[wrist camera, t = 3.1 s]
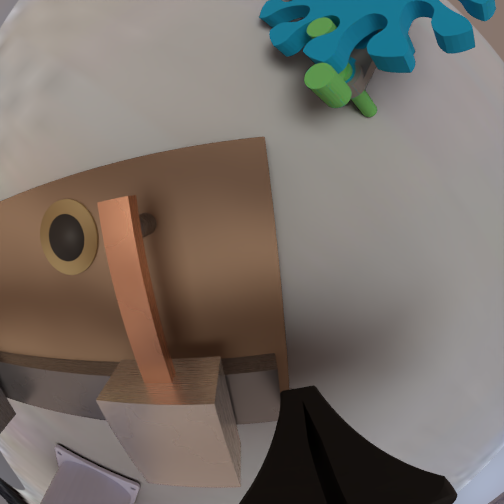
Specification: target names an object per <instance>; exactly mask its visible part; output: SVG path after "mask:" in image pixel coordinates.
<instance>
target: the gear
mask: <svg viewBox="0 0 504 504" xmlns="http://www.w3.org/2000/svg"><path fill="white" fill-rule="evenodd" d="M459 1H460V2H461V3H462V5H463V6H464V8H465V9H466V11H467V12H468V13H469V14H470V15H471V16H473V17H475V18H476V19H479V20H481V21H487V20H489V19H490V18H491V17H492V16H493V14H494V12H495V10H496V7H495V0H459ZM302 17H305V18H304V19H302V20H300V21H297V22H289V21H291V20H294V19H297V18H302ZM419 17H429V18H432V21H431V24H432V27H433V30H434V33H435V37H436V40H437V43H438V45H439V47H440V48H441V49H442V50H443V51H444V52H446V53H459V52H463V51H466V50H469V49H472V48H474V47H475V41H474V34H473V29H472V25H471V23H470V22H469V21H468V20H467V19H466V18H465V17H463V16H462V15H460V14H458V13H456V12H454V11H452V10H451V9H449V8H447V7H446V6H445V5H443V4H442V3H441V2H440V1H439V0H292V1H289V2H283V1H282V0H269V1H267V2H266V3H265V5H264V6H263V8H262V10H261V13H260V17H259V18H261V19H262V20H263V21H265V22H266V23H267V24H268V25H269V26H271V27H273V28H272V29H271V30H270V34H269V35H270V39H271V42H272V44H273V45H274V46H275V47H276V48H277V49H278V50H279V51H281V52H282V53H283V54H284V55H285V56H287V57H288V56H292V55H294V54H296V53H298V52H299V51H300V50H301V49H302V48H303V47H304V46H305V45H306V46H305V47H304V49H303V52H304V53H305V54H306V55H307V56H308V57H309V58H310V59H311V60H312V61H313V62H314V63H315V65H313V66H312V67H310V68H309V69H308V71H307V72H306V74H305V77H304V82H305V84H306V85H307V87H309V88H310V89H311V90H312V91H313V92H314V93H315V94H316V95H317V96H318V97H319V98H320V99H321V100H323V101H324V102H325V103H326V104H327V105H328V106H329V107H332V108H340V107H342V106H344V105H346V104H347V103H348V102H349V100H350V99H351V100H352V101H353V102H354V104H355V105H356V106H357V107H358V109H359V110H360V111H361V112H362V114H363V115H364V116H366V117H372V116H374V115H375V114H376V112H377V107H376V106H375V104H374V103H373V101H372V100H371V98H370V97H369V95H368V94H367V92H366V91H365V88H366V87H367V85H368V82H369V80H370V78H371V76H372V74H373V72H374V70H375V68H376V67H377V68H378V69H379V70H382V71H386V72H396V73H411V72H412V71H413V69H414V67H415V59H414V56H413V54H414V53H415V49H414V47H413V44H412V42H411V40H410V37H409V35H408V31H409V28H410V26H411V23H412V21H413V20H414V19H416V18H419Z"/></svg>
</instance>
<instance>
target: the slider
mask: <svg viewBox="0 0 504 504" xmlns="http://www.w3.org/2000/svg"><path fill="white" fill-rule="evenodd" d="M97 204H98V211H99V218H100V224H101V230H102V235H103V241H104V246H105V251H106V256H107V260H108V265H109V269H110V274H111V278H112V282H113V286H114V290H115V294H116V298H117V301H118V305H119V309H120V312H121V316H122V319H123V322H124V326H125V329H126V332H127V335H128V338H129V341H130V344H131V347H132V350H133V353H134V356H135V359H136V360H121V361H120V363H119V364H118V366H117V367H116V369H115V370H114V372H113V374H112V375H111V377H110V378H109V380H108V381H107V383H106V385H105V386H104V388H103V389H102V391H101V392H100V394H99V396H98V397H97V399H96V402H97V404H98V405H99V407H100V409H101V411H102V413H103V415H104V416H105V418H106V420H107V422H108V423H109V425H110V427H111V429H112V430H113V432H114V434H115V435H116V437H117V438H118V440H119V442H120V443H121V445H122V446H123V448H124V449H125V451H126V452H127V454H128V455H129V457H130V458H131V460H132V461H133V463H134V464H135V466H136V467H137V468H138V470H139V471H140V473H141V474H142V475H143V477H144V478H145V479H146V481H147V482H148V483H154V484H163V485H174V486H188V487H241V442H240V438H239V434H238V430H237V426H236V422H235V418H234V414H233V409H232V405H231V401H230V397H229V392H228V388H227V384H226V379H225V375H224V370H223V365H222V361H221V356H215V357H201V358H182V359H171V356H170V352H169V349H168V346H167V342H166V338H165V335H164V331H163V327H162V324H161V320H160V316H159V312H158V308H157V304H156V300H155V295H154V291H153V287H152V282H151V278H150V273H149V268H148V263H147V258H146V253H145V248H144V242H143V238H144V237H146V236H148V235H150V234H152V233H153V232H154V231H155V229H156V225H157V223H156V219H155V217H154V216H153V215H152V214H150V213H141V214H139V212H138V205H137V198H136V195H132V196H125V197H120V198H115V199H111V200H106V201H102V202H98V203H97Z"/></svg>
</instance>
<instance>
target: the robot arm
mask: <svg viewBox="0 0 504 504" xmlns="http://www.w3.org/2000/svg"><path fill="white" fill-rule="evenodd" d="M55 453H56V458H57V462H58V467H59V469H58V471H57V472H56V474H55V476H54V478H53V480H52V482H51V484H50V486H49V488H48V490H47V491H46V493H45V495H44V497H43V499H42V501H41V503H40V504H134V502H135V499H136V497H137V494H138V491H139V488H140V485H139V484H138V483H137V482H134V481H132V480H129V479H127V478H124V477H122V476H120V475H117V474H115V473H113V472H110V471H108V470H106V469H104V468H102V467H99V466H97V465H95V464H93V463H91V462H89V461H87V460H85V459H83V458H81V457H80V456H78V455H76V454H74V453H72V452H70V451H69V450H67V449H65V448H63V447H62V446H60V445H56V446H55ZM456 498H457V493H456V491H455V490H454V488H453V486H452V485H451V484H450V482H449V481H448V480H447V479H446V478H445V476H441V475H437V474H434V473H430V472H427V471H424V470H421V469H419V468H416V467H414V466H411V465H409V464H407V463H405V462H403V461H401V460H399V459H397V458H395V457H393V456H391V455H389V454H387V453H386V452H384V451H382V450H381V449H379V448H378V447H376V446H375V445H373V444H372V443H370V442H369V441H368V440H366V439H365V438H364V437H362V436H361V435H360V434H359V433H357V432H356V431H355V430H354V429H353V428H352V427H351V426H350V425H348V424H347V423H346V422H345V421H344V420H343V419H342V418H341V417H340V416H339V415H338V414H337V412H336V411H335V410H334V409H333V408H332V407H331V406H330V405H329V403H328V402H327V401H326V400H325V399H324V397H323V396H322V395H321V393H320V392H319V391H318V389H317V388H316V387H315V386H309V387H303V388H297V389H290V390H283V391H282V392H281V393H280V411H279V417H278V422H277V426H276V430H275V434H274V437H273V440H272V443H271V446H270V448H269V451H268V454H267V456H266V458H265V460H264V463H263V465H262V467H261V469H260V471H259V473H258V475H257V476H256V478H255V480H254V482H253V483H252V485H251V487H250V488H249V490H248V491H247V493H246V494H245V496H244V497H243V499H242V500H241V501H240V503H239V504H453V503H454V501H455V500H456ZM488 504H504V492H503V493H502V494H500V495H499V496H498V497H497V498H495V499H494V500H493V501H491V502H490V503H488Z"/></svg>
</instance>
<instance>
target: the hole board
mask: <svg viewBox="0 0 504 504" xmlns="http://www.w3.org/2000/svg"><path fill="white" fill-rule="evenodd" d="M132 195H136V198H137V205H138V212H139V214H141V213H150V214H152V215H153V216H154V217H155V219H156V223H157V225H156V229H155V231H154V232H153V233H152V234H150V235H148V236H146V237H144V238H143V242H144V248H145V253H146V258H147V263H148V268H149V273H150V278H151V282H152V287H153V291H154V295H155V300H156V304H157V308H158V312H159V316H160V320H161V324H162V327H163V331H164V335H165V338H166V342H167V346H168V349H169V352H170V356H171V359H182V358H201V357H215V356H221V359H222V358H234V357H244V356H253V355H262V354H270V353H275V356H276V362H277V368H278V377H279V387H280V393H281V392H282V391H283V390H290V389H289V375H288V361H287V348H286V336H285V324H284V312H283V301H282V290H281V279H280V269H279V258H278V249H277V239H276V229H275V220H274V211H273V202H272V193H271V185H270V176H269V168H268V160H267V152H266V144H265V137H256V138H247V139H239V140H231V141H223V142H216V143H210V144H203V145H197V146H191V147H185V148H180V149H175V150H169V151H164V152H159V153H155V154H150V155H145V156H141V157H137V158H132V159H128V160H124V161H120V162H116V163H112V164H109V165H105V166H101V167H98V168H94V169H91V170H87V171H84V172H80V173H77V174H74V175H71V176H68V177H64V178H61V179H58V180H55V181H52V182H50V183H47V184H44V185H41V186H38V187H36V188H33V189H30V190H28V191H25V192H22V193H20V194H17V195H15V196H12V197H10V198H8V199H5V200H3V201H0V351H3V352H9V353H15V354H23V355H30V356H39V357H48V358H58V359H71V360H86V361H109V362H120V361H121V360H136V359H135V356H134V353H133V350H132V347H131V344H130V341H129V338H128V335H127V332H126V329H125V326H124V322H123V319H122V316H121V312H120V309H119V305H118V301H117V298H116V294H115V290H114V286H113V282H112V278H111V274H110V269H109V265H108V260H107V256H106V251H105V246H104V241H103V235H102V230H101V224H100V218H99V211H98V204H97V203H98V202H102V201H106V200H111V199H115V198H120V197H125V196H132Z"/></svg>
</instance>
